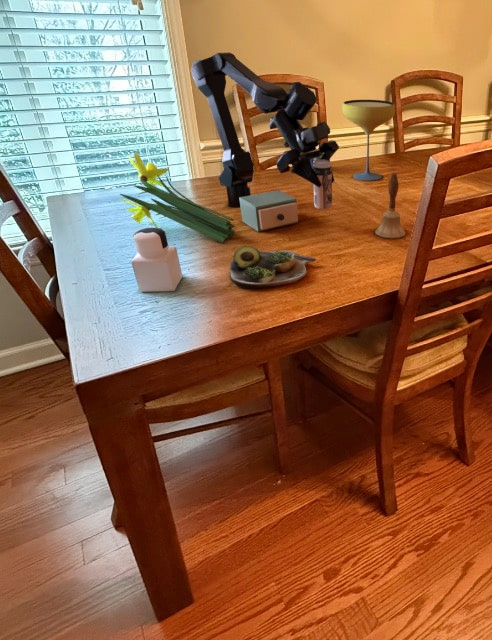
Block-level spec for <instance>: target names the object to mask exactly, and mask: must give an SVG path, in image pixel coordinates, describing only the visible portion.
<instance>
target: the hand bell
mask: <svg viewBox="0 0 492 640" xmlns="http://www.w3.org/2000/svg"><path fill="white" fill-rule="evenodd" d="M387 186H388V187H387V189H388V195H389V202H388V210H387V211H385V212H383V214H382V219H381V221H380V224H379V226H378V227H377V228H376V229H375V230H374V232H375V235H376V236H378V237H381V238H383V239H391V240H392V239H400V238H403V237H405V235H406V230H405V229H404V228H403V226H402V224H401V215H400V213H399V212H398V211H396V198H397V196H398V192H399V179H398V173H396V172H393V173H392V172H391V174H390V178H389V181H388V185H387Z"/></svg>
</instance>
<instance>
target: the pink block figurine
mask: <svg viewBox="0 0 492 640" xmlns="http://www.w3.org/2000/svg"><path fill="white" fill-rule="evenodd" d="M132 238H133V242H134V245H135V250H136V255H135V256H134V257H133V259H132V260H131V262H130V263H131V267H132V269H133V273H134V276H135V281H136V283H137V287H138V290H139V292H140V293H146V292H148V293H149V292H174V291H176V288H177V286H179V283H180V281H181V279H182V278H183V272H182V268H181V262H180V258H179V254H178V249H177V247H176V246H169V242H168V238H167V234H166V230H164V229H162V228H159V227H158V228H156V227H144V228H141V229H139V230H137V231H135V232H134V234H133V235H132Z"/></svg>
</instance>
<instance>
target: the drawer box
mask: <svg viewBox="0 0 492 640" xmlns="http://www.w3.org/2000/svg"><path fill="white" fill-rule="evenodd" d="M239 199H240V206H239V207H240V213H241V221H242V222H243V223H244V224H246V226H248V227H250V228H251V229H253V230H255V231H256V232H259V233H260V232H264V231H269V230H273V229H276V228H281V227H286V226H289V225H293V224H298V223H299V220H298V221H297V222H293V223H289V224H285V225H280V226H276V227H272V228H268V229H263V230H262V229H260V223H259V214H258V209H261V208H265V207H270V206H275V205H280V204H285V203H290V202H291V203H293V202H295V203H297V204H298V202H297V198H296V197H294V196H292V195H290V194H287V193H286V192H284V191H282V190H279V189H277V190H271V191H265V192H261V193H256V194H255V193H254V194H251V195H250V196H244V197H239Z"/></svg>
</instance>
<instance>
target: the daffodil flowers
mask: <svg viewBox="0 0 492 640" xmlns="http://www.w3.org/2000/svg"><path fill="white" fill-rule="evenodd" d="M127 158H128V160H129V162H130V163H131V165H132V167H134V168H135V170H137V171H138V177H137V178H138V180H139V182H140V183H141V184H142V186H141V185H133V187H135V188H136V189H139V190H140V191H142V192H139V193H137V194H136V196H138V195H143V194H146V193H148V194H150V195H153V196H155V197H156V198H158V199H159V201H158V200H157V199H154V198H150V200H151V201H152V202H153V203H150V202H147V201H144V200H142V199H139V198H136V197H133V196H130V195H127V194H123V193H119V195H120V196H121V197H123V198H118V197H117V199H118V200H120V201H123V202H124V203H128V204H130V205H132V206H133V207H129V208H128V209H126V212H129V213H134V214H132V215H131V216H130V218H131V219H133V220H134V221H136V223H138V224H139V225H140V224H142V223H141V222H142V221H143V219H144V218H145V216H146V217H147V218H148V219H149V222H150V223H151V224H153V225H154V228H159V227H158V226H157V224H156V223H155V221H153V218H152V214H151V212H150V211H152V212H154V213H156V214H155V216H160V215H161V217H159V218H158V219H159V220H160V219H163V218H164V219H165V218H167V219H169V220H172V221H174V222H176V223H178V224H180V225H182V226H184V227H187V228H188V229H191V230H193V231H195V232H197V233H199V234H202V235H204V236H206V237H208V238H210V239H212V240H215V241H217V242H218V243H221V244H224V243H225V242H226V240H227V238H231V239H232V237H233V235H234V234H235V232H236V230H235V229H233V228H235V227H236V226H235V224H233V223H231V221H234V220H235V219H234V218H232V217H230V216H227V215H225V214H222V213H220V212H218V211H215V210H213V209H210V208H209V207H206V206H203V205H200V204H198V203H195V202H194V201H192V200H191V199H189V198H188V197H187V196H185V195H184V194H182V193H181V192H180V191H178V190H177V189H176V188H175V187H174V186H173V185H172V183H171V182H170V179H169V178H168V176H167V174H166V173H167V172H169V170H170V169H169V168H161V169H160V168H159V169H158V167H157V165H155V163H153V162H147V164H146V165H145V163H144V162H143V160H142V157H140V155H139V153H138V151H136V150H135V152H134V160H133V158H131V157H130V156H128V155H127ZM164 174H165V179H166V181H167V183H168V185H169V186H167V185H166V183H165V182H164V181H163V180H162V178H161V177H160V176H162V175H164ZM157 178H158V179H157ZM156 185H157V186H160V187H164V189H165V190H167V191H165V190H164V189H161V188H160V187H157V186H156ZM172 190H173V191H172ZM160 200H161V201H163V202H164V203H163V202H161V201H160ZM165 203H166V204H165Z"/></svg>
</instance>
